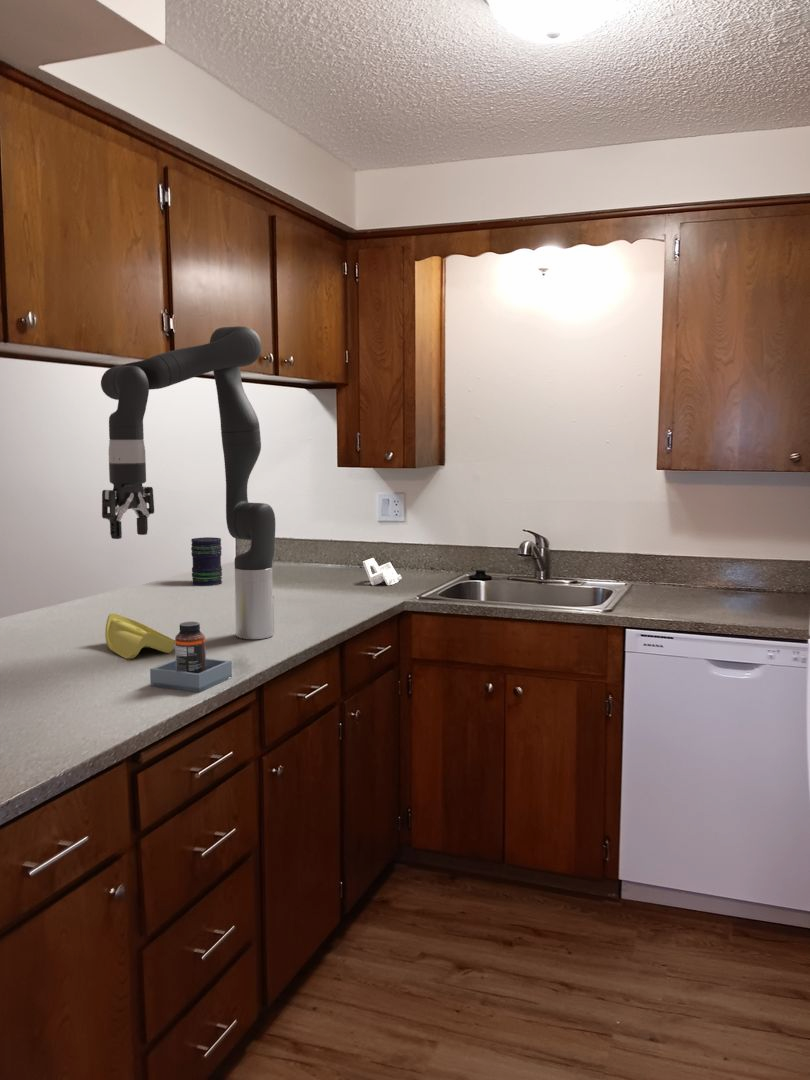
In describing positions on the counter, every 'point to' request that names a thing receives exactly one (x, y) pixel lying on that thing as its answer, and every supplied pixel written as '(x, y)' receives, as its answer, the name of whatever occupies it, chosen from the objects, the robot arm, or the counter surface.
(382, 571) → the mounting bracket
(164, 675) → the parts tray
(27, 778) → the counter surface
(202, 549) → the storage jar
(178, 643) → the supplement bottle
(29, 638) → the counter surface
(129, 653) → the plastic component
